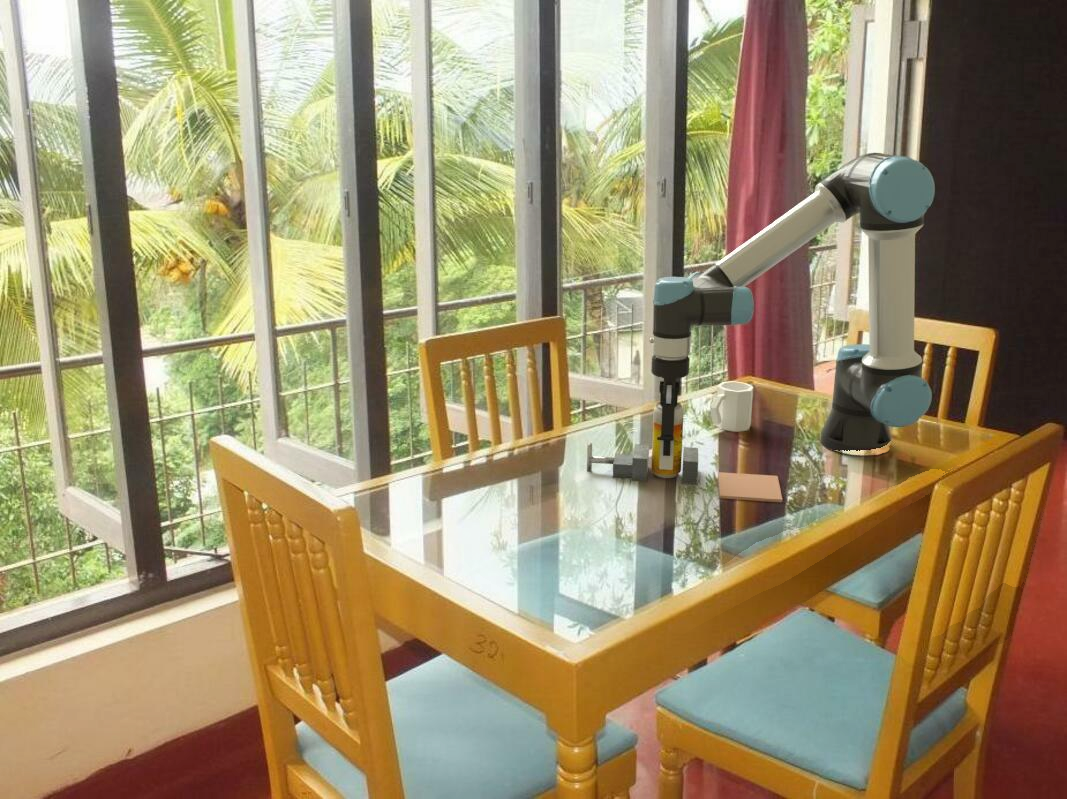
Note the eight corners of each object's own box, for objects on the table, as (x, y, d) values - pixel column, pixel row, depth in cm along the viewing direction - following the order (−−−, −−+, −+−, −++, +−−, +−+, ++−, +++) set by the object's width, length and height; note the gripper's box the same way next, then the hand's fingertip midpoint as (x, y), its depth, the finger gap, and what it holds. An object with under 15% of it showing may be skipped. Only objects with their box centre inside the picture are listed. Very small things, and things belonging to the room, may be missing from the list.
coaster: (777, 478, 195) (777, 475, 195) (782, 502, 184) (782, 499, 184) (718, 474, 197) (718, 472, 197) (719, 498, 186) (719, 495, 186)
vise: (696, 469, 199) (698, 443, 198) (696, 484, 192) (698, 457, 190) (588, 463, 203) (589, 437, 201) (584, 477, 195) (585, 450, 194)
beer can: (680, 480, 193) (683, 410, 189) (650, 477, 194) (652, 409, 190) (681, 468, 199) (684, 401, 194) (652, 466, 200) (654, 399, 195)
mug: (729, 417, 231) (732, 379, 228) (758, 426, 225) (761, 387, 222) (697, 428, 224) (699, 388, 221) (726, 438, 218) (729, 397, 215)
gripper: (653, 342, 198) (650, 445, 205) (649, 367, 180) (646, 479, 188) (690, 343, 197) (685, 447, 204) (689, 369, 179) (684, 481, 186)
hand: (666, 462), depth 196 cm, fingers closed on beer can, 6 cm apart
